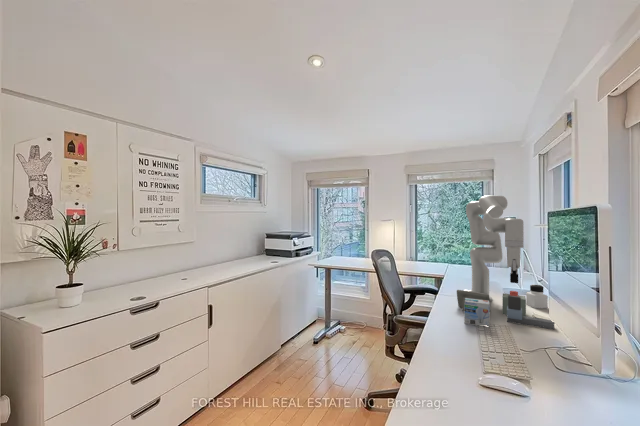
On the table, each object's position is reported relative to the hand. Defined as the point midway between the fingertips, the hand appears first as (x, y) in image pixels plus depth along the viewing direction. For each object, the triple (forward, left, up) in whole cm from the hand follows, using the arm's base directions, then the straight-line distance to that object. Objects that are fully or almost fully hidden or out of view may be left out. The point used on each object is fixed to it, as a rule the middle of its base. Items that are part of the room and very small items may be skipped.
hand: (514, 282), depth 143 cm
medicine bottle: (+11, +36, -19) cm, 42 cm away
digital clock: (-18, +7, -19) cm, 28 cm away
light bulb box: (-15, -12, -19) cm, 27 cm away
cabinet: (0, +14, -19) cm, 24 cm away
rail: (+6, 0, -19) cm, 20 cm away
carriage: (0, 0, -17) cm, 17 cm away
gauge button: (0, +14, -12) cm, 19 cm away
